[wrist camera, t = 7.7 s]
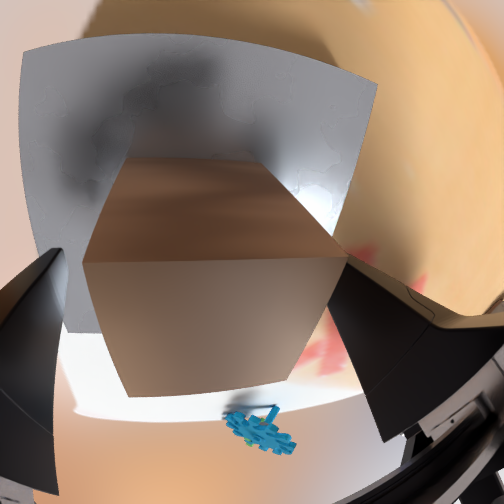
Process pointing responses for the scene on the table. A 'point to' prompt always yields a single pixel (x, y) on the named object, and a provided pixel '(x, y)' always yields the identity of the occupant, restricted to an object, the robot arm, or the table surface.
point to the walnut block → (206, 275)
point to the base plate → (176, 128)
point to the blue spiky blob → (261, 432)
